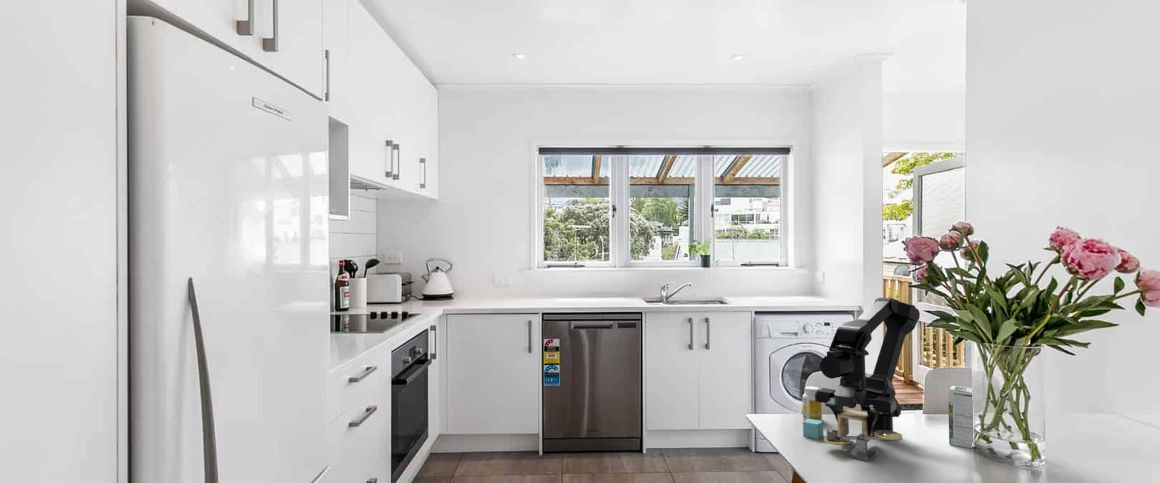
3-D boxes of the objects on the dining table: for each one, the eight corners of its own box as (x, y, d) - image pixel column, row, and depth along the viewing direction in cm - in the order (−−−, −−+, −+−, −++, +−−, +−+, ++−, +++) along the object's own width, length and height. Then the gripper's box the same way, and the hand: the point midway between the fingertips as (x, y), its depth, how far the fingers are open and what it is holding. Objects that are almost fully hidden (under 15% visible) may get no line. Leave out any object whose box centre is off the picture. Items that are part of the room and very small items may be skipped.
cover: (846, 433, 151) (845, 409, 151) (872, 438, 147) (871, 413, 147) (838, 439, 146) (837, 414, 147) (864, 444, 142) (863, 419, 142)
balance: (829, 444, 146) (828, 419, 147) (906, 461, 134) (905, 433, 134) (820, 450, 142) (819, 424, 142) (899, 468, 130) (898, 439, 130)
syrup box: (951, 439, 149) (949, 385, 150) (978, 443, 146) (976, 388, 146) (949, 445, 145) (947, 389, 145) (976, 449, 141) (974, 392, 141)
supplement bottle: (799, 419, 170) (798, 387, 170) (808, 415, 173) (807, 384, 173) (816, 423, 165) (815, 390, 166) (825, 419, 169) (824, 387, 169)
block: (809, 432, 157) (808, 418, 157) (823, 435, 154) (823, 421, 154) (803, 436, 154) (802, 421, 154) (817, 439, 151) (817, 424, 152)
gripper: (806, 373, 148) (807, 433, 147) (883, 384, 135) (885, 448, 134) (821, 367, 156) (823, 423, 155) (895, 376, 143) (897, 437, 143)
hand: (855, 432), depth 147 cm, fingers closed on cover, 6 cm apart
